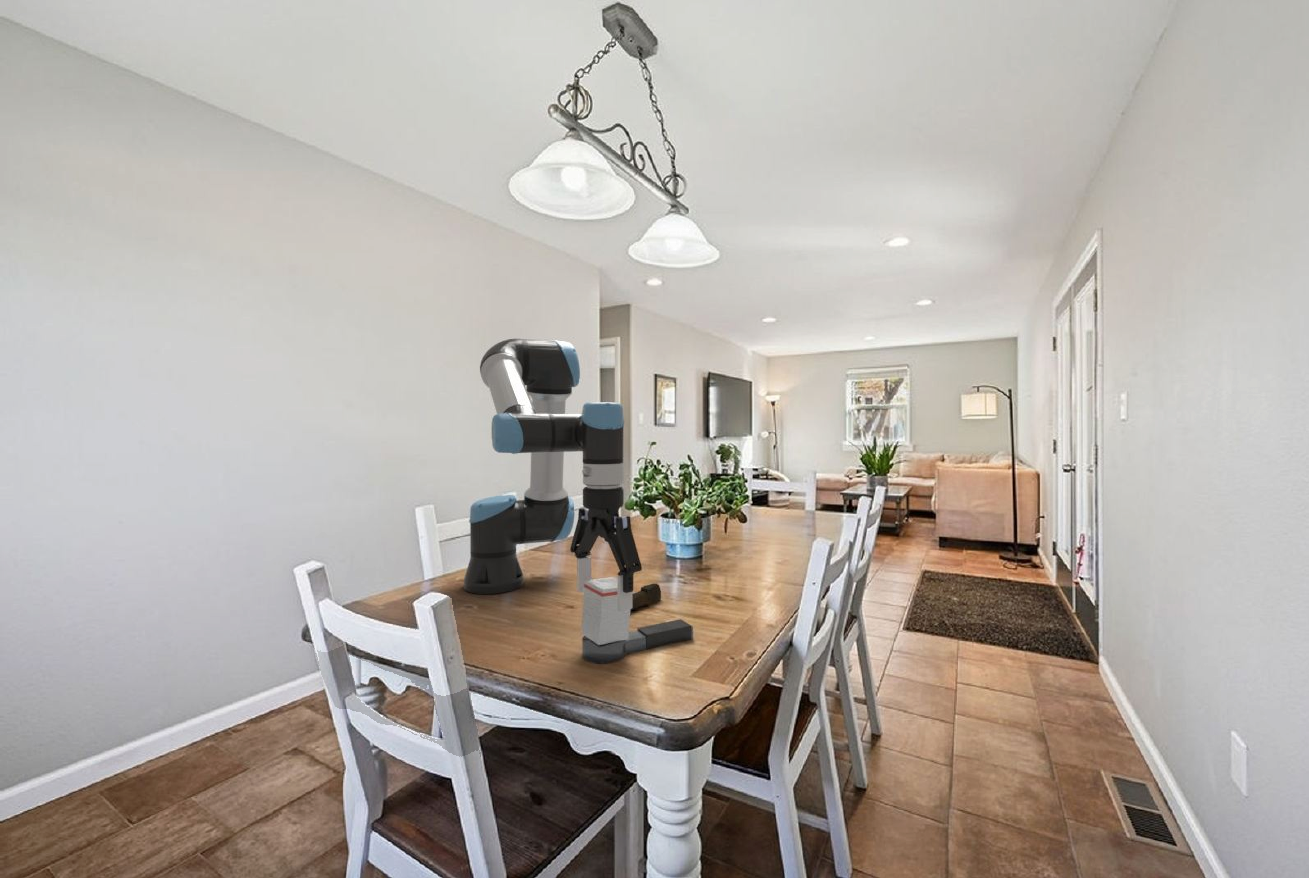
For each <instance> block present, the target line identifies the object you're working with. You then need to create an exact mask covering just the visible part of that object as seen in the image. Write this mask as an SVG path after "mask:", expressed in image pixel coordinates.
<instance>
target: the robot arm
mask: <svg viewBox="0 0 1309 878" xmlns="http://www.w3.org/2000/svg"><path fill="white" fill-rule="evenodd" d="M579 361H580V360H579V357H578V352H577V351H576V349H575V347H574V345H573V344H571V342H569V341H568V342H567V341H562V340H556V339H554V340H549V339H529V338H528V339H524V338H522V339H521V338H509V339H505V340H502V341H500V342H497V343H496V344H493V346H491V347H490V348H489V349H488V350H486V352H485V353H484V355H483V357H482V358H481V361H480V365H479V372H480V376H481V380H482V382H483V383H484V384H485V386H486V387H487V388H489V392H490V395H491V398H492V402H493V404H494V407H495V411H496V414H495V415H493V416H492V420H491V441H492V448H493V450H494V451H495V452H497V453H501V454H505V453H506V454H513V455H515V454H526V453H527V454H528V453H529V454H530V481H529V483H530V485H529V488H528V489H526V490H525V491H524V493H523V494H524V496H523V497H524V498H523V499H521V500H518V499H517V497H516V496H515V495H512V494H506V495H501V494H500V495H496V496H490V497H486V498H482V499H481V498H480V499H479V500H477V501H475V502H473V503H472V504H471V506H470V508H469V510H470V511H469V519H468V520H469V521H468V522H469V523H470V525H469V527H470V529H469V530H470V532H469V534H470V535H469V536H470V539H469V540H470V547H469V548H470V551H469V552H470V557H469V558H470V559H469V562H468V565H467V569H466V572H465V574H464V578H463V590H464V591H466V592H468V593H470V594H478V595H494V594H502V593H503V594H504V593H508V592H511V591H514V590H517V589H520V588H521V587H523V585H524V573H523V570H522V567H521V564H520V561H519V559H518V556H517V545H523V544H524V545H525V544H527V545H528V544H536V543H549V542H550V543H553V542H556V541H557V542H558V541H563V540H566V539H567V538H568V537H569V536H570V535H571V533H572V530H573V528H574V522H575V503H574V500H573V499H572V498H571V497H569V492H568V491H567V490H566V489H565V488H564V484H563V483H564V455H565V453H569V452H582V471H581V472H582V484H583V485H585V487H583V488H582V506H583V507H581V508H578V517H577V522H576V526H575V529H574V533H573V537H572V540H571V544H570V547H569V548H570V549H569V551H570V552H571V553H572V554H574V557H575V558H576V571H577V573H576V574H577V593H581V594H582V593H584V584H585V580H591V579H592V557H591V556H592V553H591V551H592V549H593V547H594V545H595V543H596V542H597V539H598V538H599V537H600V538H602V539H603V540H604V541H605V542H606V543H608V545H609V548H610V550H611V552H612V555H613V557H614V560H615V562H616V565H617V568H618V569H619V571H618V573H617V574H616V578H617V599H618V611H620V612H621V611H624V610H628V609H632V594H633V593H634V574H635V573H638V572H641V571H642V569H643V567H642V564H641V559H640V556H639V553H638V548H637V546H636V542H635V537H634V534H633V532H632V524H631V516H630V515H624V516H623V515H622V516H620V512H619V510H620V508H622V507H624V505H625V504H624V502H625V501H624V495H625V494H624V491H625V489H624V488H623V487H622V486H621V485H623V484H624V483H625V479H624V478H625V475H624V473H625V472H624V471H625V470H624V466H625V465H624V426H625V419H624V408H623V406H622V404H620V403H619V402H610V401H609V402H608V401H607V402H606V401H605V402H603V401H600V402H598V401H597V402H594V401H593V402H586V403H584V404H583V405H582V413H566V401H567V399H568V398H569V397H571V396H572V393H573V391H572V390H573V388H575V387H577V386H578V385H579V383H580V379H581V370H580V369H581V368H580V362H579ZM531 399H532V400H531Z"/></svg>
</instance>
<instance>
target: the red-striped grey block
mask: <svg viewBox="0 0 1309 878" xmlns="http://www.w3.org/2000/svg"><path fill="white" fill-rule="evenodd" d="M582 603H583V604H582V616H581V628H580V633H581V635H583V636H586V637H587V638H589V639H590V640H592V641H593V642H595V643H596V644H598V645H602V644H607V643H612V642H617V641H622V640H627V639H628V637H629V632H630V620H631V611H632V610H631V609H628V610H624V611H621V612H620V611H618V599H617V577H615V576H610V577H599V578H593V579H592V578H591V580H585V584H584V592H583V602H582ZM630 610H631V611H630Z"/></svg>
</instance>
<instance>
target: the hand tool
mask: <svg viewBox="0 0 1309 878" xmlns="http://www.w3.org/2000/svg"><path fill="white" fill-rule="evenodd" d="M661 599H662V590H661V587H660V584H658V582H657V583H651V584H650V583H649V584H647V585H643V586H641V587H640V590H639V591H636V592H633V593H632V609H631V610H630V612H631V611H632V610H633V611H634V610H636V609H637V608H640V607H642V606H644V607H651V606H653V605H655V604H656V603H658V602H659V601H660V600H661Z"/></svg>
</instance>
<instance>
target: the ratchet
mask: <svg viewBox="0 0 1309 878" xmlns="http://www.w3.org/2000/svg"><path fill="white" fill-rule="evenodd" d="M693 639H694V626H692V624H689V622H686V621H684V619H681V618H679V619H675V620H674V619H673V620H670V621H665V622H660V623H656V624H650V625H646V626H640V627H637V629H636V630H633V631H629V637H628V639H627V640H622V641H617V642H612V643H607V644H602V645H598V644H596V643H595V642H593V641H592V640H590V639H589V638H587V637H586V636H585V635H583V636H582V639H581V640H582V642H581V643H582V645H581V646H582V647H581V648H582V649H581V650H582V651H581V652H582V656H581V657H582V658H583V659H584V660H585V661H587V662H590V663H593V664H611V663H614V662H618V661H620V660H623V659H624V658H625V656H626V654H630V653H635V652H639V651H645V650H650V649H654V648H659V647H664V646H668V645H672V644H677V643H681V642H686V641H690V640H693Z"/></svg>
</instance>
